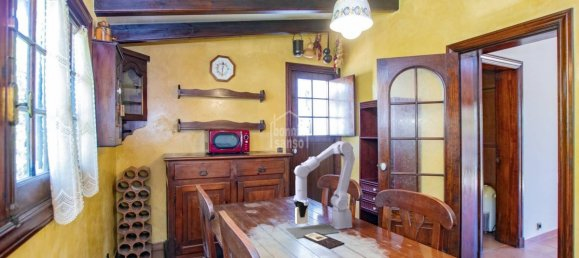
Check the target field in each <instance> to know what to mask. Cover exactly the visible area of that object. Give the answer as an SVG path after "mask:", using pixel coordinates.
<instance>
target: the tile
mask: <svg viewBox="0 0 579 258" xmlns="http://www.w3.org/2000/svg"><path fill="white" fill-rule="evenodd" d="M308 208H309V206H308V207H307V209H306V213H305V217H302V218H301V217H300V213H299V208H298V207H296V206H295V209H294V213H295V215H294V216H295V217H294V220H295V221H294V222H295V224H296V225H305V224H308V223H309V209H308Z"/></svg>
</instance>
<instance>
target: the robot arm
mask: <svg viewBox="0 0 579 258" xmlns="http://www.w3.org/2000/svg"><path fill="white" fill-rule="evenodd" d="M353 150H354V146H353V145H352V144H351V143H350V142H349V141H342V140H337V141H336V142H333V144H331V145H329V147H328V148H326V149H324V150H323V151H322V152H320V153H319V154H318V155H317V156H314V155H313V156H309V157H308V158H307V160H306V161H304V162H301V163H300V164H299V165H297V166H295V168H294V171H293V173H294V175H295V182H294V183H295V186H294V187H295V195H293V204H294V205H295V207H298V208H299V213H300V217H301V218H302V217H305V213H306V209H307V207H308V208H309V206H310V202H309V199H308V194H307V193H308V185H307V184H308V183H307V182H308V181H307V177H308V175H309V174H310V173H311V172H313V171H314V170H315V169H317V168H318V167H319V166H320V164H321V162H323V161H325V159H327V158H329V157H330V156H332V155H340V156H341V159H343V162H342V167H341V171H340V174H339V175H340V176H339V178H338V182H337V187H336V190H335V191H334V192H333V195H332V196H331V198H330V203H331V205H332V208H331V209H332V210H331V211H332V212H331V214H332V215H331V216H332V223H329V224H328V225H329V226H330V227H332V228H333V229H335V230H344V229H349V228H353V221H352V219H353V216H352V211H351V209H349V195H348V189H349V185H350V180H351V177H352V173H353V169H354V164H355V160H356V157H355V154H354V151H353Z"/></svg>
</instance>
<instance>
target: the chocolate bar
mask: <svg viewBox="0 0 579 258" xmlns="http://www.w3.org/2000/svg"><path fill="white" fill-rule="evenodd" d="M303 237H304V238H303V239H306V240H307V241H310V242H312V243H315V244H317V245H319V246H322V247H323V248H326V249H328V250H331V249H335V248H337V247H340V246H343V245H345V242H343V241H340V240H338V239H336V238H334V237H330V236H327V235H323V234H321V233H318V232H315V233H311V234H308V235H305V236H303Z"/></svg>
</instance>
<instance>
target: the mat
mask: <svg viewBox="0 0 579 258" xmlns="http://www.w3.org/2000/svg"><path fill="white" fill-rule="evenodd" d="M286 231H288V233H290V234H291V235H292V236H293V237H294V238H295V239H297V240H298V239H305V238H304V237H303V236H305V235H308V234H311V233H315V232H318V233H321V234H323V235H326V236H327V235H333V234H339V230H337V229H335V228H333V227H332V226H330V225H329V224H327V223H320V224H311V225H310V224H309V225H304V226H298V227H297V226H296V227H289V228H286Z"/></svg>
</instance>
